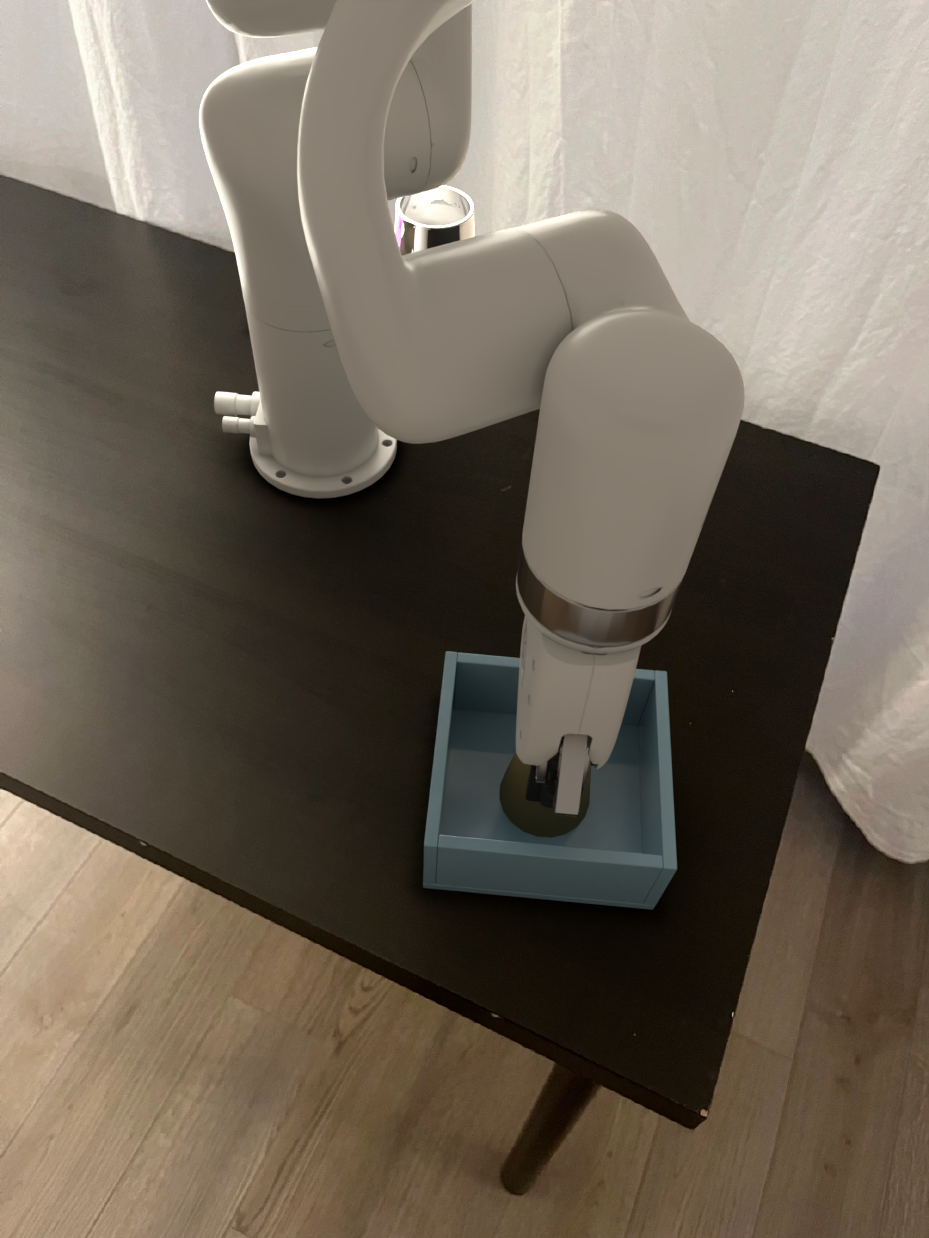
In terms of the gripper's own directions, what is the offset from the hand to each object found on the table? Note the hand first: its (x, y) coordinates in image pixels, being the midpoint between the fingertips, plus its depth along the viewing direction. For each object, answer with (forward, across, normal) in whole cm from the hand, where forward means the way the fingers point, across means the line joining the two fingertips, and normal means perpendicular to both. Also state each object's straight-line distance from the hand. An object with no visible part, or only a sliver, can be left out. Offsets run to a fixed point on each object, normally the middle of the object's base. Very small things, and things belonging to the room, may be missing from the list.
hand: (553, 753), depth 59 cm
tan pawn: (+6, 0, 0) cm, 6 cm away
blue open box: (+7, 0, 0) cm, 7 cm away
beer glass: (+7, -46, -12) cm, 48 cm away
